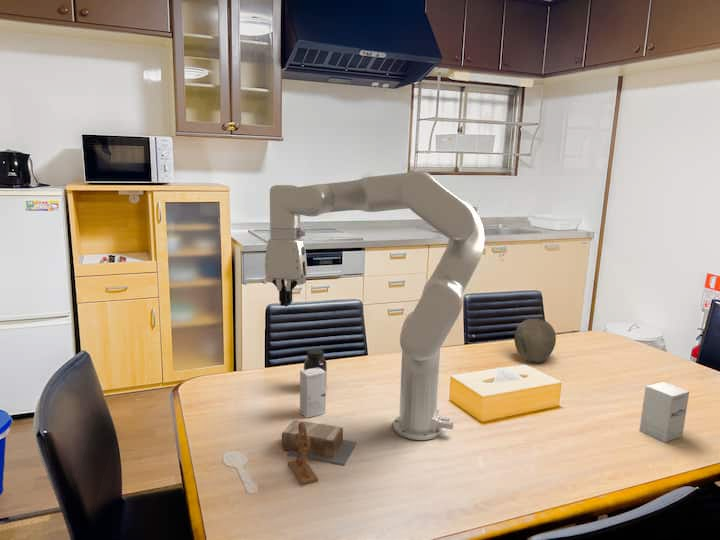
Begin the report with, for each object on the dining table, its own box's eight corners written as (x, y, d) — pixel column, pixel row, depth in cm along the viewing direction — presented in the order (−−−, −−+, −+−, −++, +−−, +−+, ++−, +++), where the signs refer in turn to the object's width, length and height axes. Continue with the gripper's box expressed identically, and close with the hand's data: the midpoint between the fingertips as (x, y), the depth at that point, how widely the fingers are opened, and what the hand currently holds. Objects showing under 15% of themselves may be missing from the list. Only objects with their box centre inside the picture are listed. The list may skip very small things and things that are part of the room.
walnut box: (293, 434, 131) (342, 443, 128) (281, 448, 124) (333, 458, 121) (293, 418, 130) (343, 426, 127) (281, 432, 124) (333, 441, 120)
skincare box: (306, 418, 140) (306, 376, 138) (299, 412, 144) (298, 370, 142) (326, 413, 144) (327, 371, 141) (318, 406, 147) (318, 366, 145)
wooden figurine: (287, 465, 119) (287, 416, 116) (303, 461, 120) (303, 412, 118) (301, 486, 111) (301, 434, 108) (318, 481, 113) (318, 430, 110)
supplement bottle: (299, 390, 157) (299, 353, 155) (310, 382, 164) (310, 346, 161) (320, 395, 155) (320, 356, 153) (330, 386, 161) (330, 349, 159)
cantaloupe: (560, 368, 179) (564, 326, 177) (518, 367, 180) (522, 325, 177) (546, 353, 193) (550, 314, 190) (507, 352, 193) (511, 313, 191)
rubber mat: (356, 443, 128) (356, 441, 128) (344, 465, 119) (344, 463, 119) (303, 434, 132) (303, 433, 132) (287, 455, 123) (287, 453, 122)
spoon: (241, 497, 107) (241, 495, 107) (219, 455, 122) (219, 453, 122) (266, 490, 110) (266, 488, 110) (241, 450, 125) (241, 447, 125)
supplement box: (665, 443, 131) (672, 396, 129) (638, 430, 138) (644, 385, 135) (683, 437, 134) (690, 391, 132) (656, 424, 141) (662, 380, 138)
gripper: (318, 234, 134) (318, 304, 137) (264, 231, 137) (265, 299, 141) (307, 238, 126) (307, 311, 130) (251, 234, 130) (252, 305, 134)
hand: (285, 304), depth 136 cm, fingers closed
